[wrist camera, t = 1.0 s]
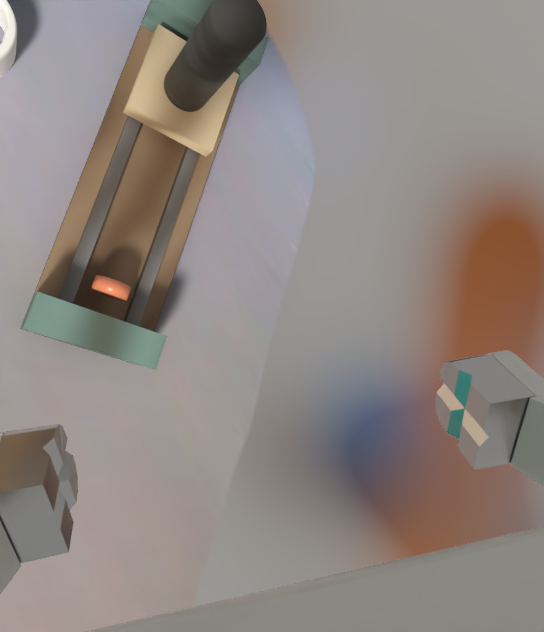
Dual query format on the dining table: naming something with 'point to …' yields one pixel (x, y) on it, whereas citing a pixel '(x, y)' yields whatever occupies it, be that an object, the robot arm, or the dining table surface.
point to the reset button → (111, 288)
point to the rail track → (127, 217)
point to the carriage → (196, 74)
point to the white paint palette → (7, 37)
